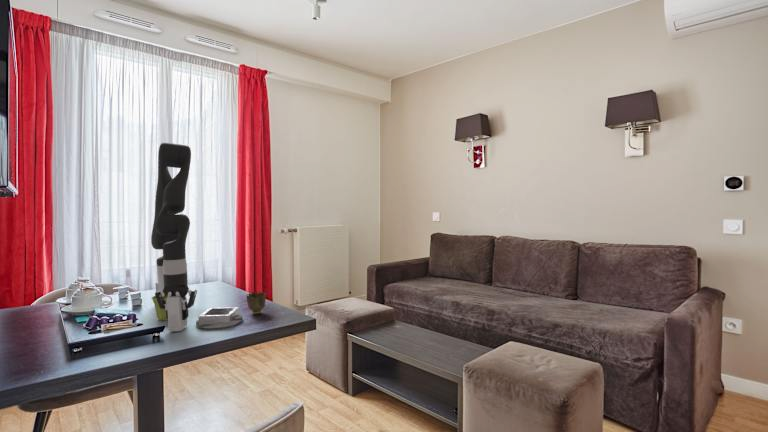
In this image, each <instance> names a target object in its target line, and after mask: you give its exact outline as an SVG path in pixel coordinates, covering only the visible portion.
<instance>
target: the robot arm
mask: <svg viewBox="0 0 768 432" xmlns="http://www.w3.org/2000/svg"><path fill="white" fill-rule="evenodd" d="M157 157H158V159H157V160H158V161H157V165H158V166H157V184H156V192H155V200H154V202H155V203H154V205H155V206H154V219H153V223H152V224H153V225H152V231H151V235H150V236H151V238H150V240H151V241H150V242H151V246H152V248H153V249H154V250H162V256H160V257H158V258H157V259H156V277H157V278H156V279H157V282H155V293H154V296H156V299H157V301H158V304H159V307H160V308H161V309H162V308H163V309H165V310H166V318H167V319H168V310H167V300H166V302H165V299H164V297H163V296H164V294H165V295H166V297H167V298H168V297H171V296H177V297H178V296H180V300H181V306H182V309H183V310H182V320H186V319H187V320H188V317H189V309H190V308H192V307H193V306H194V304H195V301H196V298H197V293H198V290H197V289H194V290H193V289H190V287H189V286H188V283H189V282H188V281H189V280H188V263H187V256H186V245H187V244H186V242H187V237H188V234H189V230H190V225H191V221H190V218H189V217H188V216H187V215H186V214H183V212H184V211H185V207H186V189H187V184H188V179H189V174H190V168H191V160H192V150H191V147H190V146H189V145H186V144H181V143H175V142H174V143H173V142H167V141H165V142H161V143H160V144H159V147H158V155H157ZM169 168H176V169H179V171H178V173H177V174H176V175H175V176H174V177H173V178H172V176H171V173H170V171H169ZM180 213H181V214H180ZM187 295H188V296H189V298H188V299H187ZM183 299H184V300H183Z"/></svg>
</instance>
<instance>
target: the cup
mask: <svg viewBox="0 0 768 432" xmlns="http://www.w3.org/2000/svg"><path fill="white" fill-rule="evenodd" d="M266 295H267V293H266V292H263V291H260V292H258V291H256V292H249V293H248V294H246V295H245V296H246V302H247V307H248V309H249V310H250V311H251V314H252V315H254V316H257V315H261V314H262V312H263V311H262V310H264V308H265V306H266V297H267V296H266Z"/></svg>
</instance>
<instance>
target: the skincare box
mask: <svg viewBox="0 0 768 432" xmlns="http://www.w3.org/2000/svg"><path fill="white" fill-rule="evenodd" d="M183 300H184V299H183ZM167 310H168V320H167V323H168V325H167V327H168V332H171V333H172V332H181V331H183V330H184V329H185V328H186V327H187V326H188V318H187V319H186V320H182V310H183V309H182V306H181V300H180V296H178V297H177V296H171V297H168V298H167Z"/></svg>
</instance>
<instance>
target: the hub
mask: <svg viewBox="0 0 768 432" xmlns="http://www.w3.org/2000/svg"><path fill="white" fill-rule="evenodd" d="M243 320H244V319H243V315H241V314H240V307H239V306H233V307H232V306H231V307H229V306H227V307H209V308H208V309H207V310H205V311H204V312H202V313H201V314H200V315H199V316H198V320H196V321H195V327H196V329H198V330H205V331H216V330H223V329H229V328H232V327H236V326H238V325H240V324H241V323H242V322H243Z"/></svg>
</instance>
